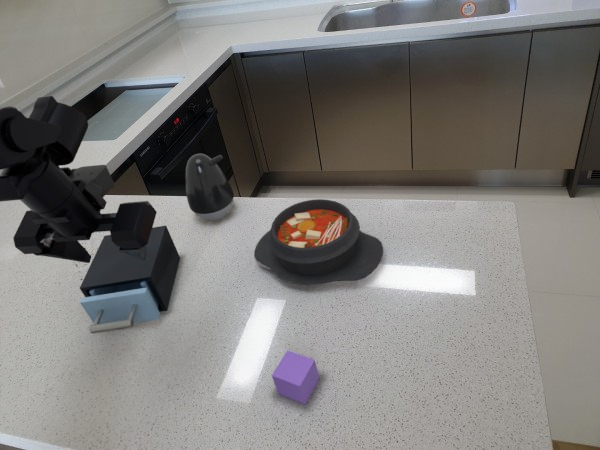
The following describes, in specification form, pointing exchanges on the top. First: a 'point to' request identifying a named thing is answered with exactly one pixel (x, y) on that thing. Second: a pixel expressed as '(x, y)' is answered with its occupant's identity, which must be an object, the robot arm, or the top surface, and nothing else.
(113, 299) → the blue drawer
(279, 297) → the top surface
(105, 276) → the black drawer cabinet
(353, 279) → the casserole
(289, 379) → the block
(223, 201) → the pump dispenser
